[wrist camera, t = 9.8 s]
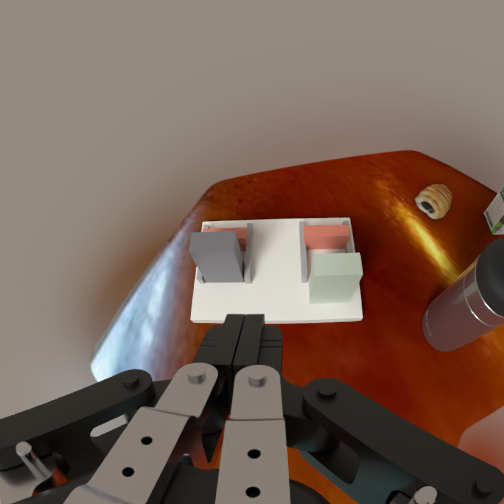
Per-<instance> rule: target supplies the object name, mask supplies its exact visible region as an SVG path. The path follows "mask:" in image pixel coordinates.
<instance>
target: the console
mask: <svg viewBox="0 0 504 504" xmlns="http://www.w3.org/2000/svg"><path fill="white" fill-rule="evenodd" d="M219 231H235V232H236V235H237V239H238V242H239V246H240V250H241V253H242V257H243V260H244V264H245V274H244V282H237V283H207V282H206V281H205V279H204V277H203V276H202V274H201V272H200V270H199V269H198V267H197V269H196V277H195V285H194V293H193V302H192V311H191V320H192V321H193V322H198V323H224V321H225V318H226V316H227V314H245V315H246V314H264V315H265V323H319V322H343V321H361V319H362V318H363V315H362V304H361V295H360V286H359V283H358V285H357V287H356V289H355V291H354V293H353V295H352V297H351V299H350V301H349V303H323V304H310V301H309V281H310V274H311V267H312V260H313V254H327V253H355V247H354V241H353V234H352V228H351V222H350V218H306V219H267V220H237V221H212V222H203V225H202V232H219Z"/></svg>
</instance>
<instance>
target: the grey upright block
mask: <svg viewBox="0 0 504 504" xmlns="http://www.w3.org/2000/svg"><path fill="white" fill-rule="evenodd" d="M189 253H190V255H191V257H192V258H193V260H194V262H195V264H196V265H197V267H198V269H199V270H200V272H201V274H202V276H203V277H204V279H205V281H206V282H207V283H237V282H244V274H245V264H244V260H243V257H242V253H241V250H240V246H239V242H238V239H237V235H236V232H235V231H219V232H193V233H192V235H191V241H190V247H189Z"/></svg>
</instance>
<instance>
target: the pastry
mask: <svg viewBox="0 0 504 504" xmlns="http://www.w3.org/2000/svg"><path fill="white" fill-rule="evenodd" d="M451 199H452V193H451V191H450V190H449V189H448V188H447V186H446V185H443V184H434V185H431V186H428V187H426V188H425V189H424V190H422V191H421V192H420V194H419V195H418V196H417V197H416V198H415V201H416V205H418V207H419V208H420V209H421V210H422V211H424V212H425V213H427V214H428V216H429V217H431V218H432V219H440V218H442V217H444V216H445V214H446V213H447V211H448V210H449V208H450V206H451Z"/></svg>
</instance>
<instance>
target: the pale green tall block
mask: <svg viewBox="0 0 504 504" xmlns="http://www.w3.org/2000/svg"><path fill="white" fill-rule="evenodd" d="M362 275H363V271H362V263H361V256H360V253H327V254H313V260H312V267H311V274H310V281H309V301H310V304H323V303H349V301H350V299H351V297H352V295H353V293H354V291H355V289H356V287H357V285H358V283H359V281H360V279H361V277H362Z"/></svg>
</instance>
